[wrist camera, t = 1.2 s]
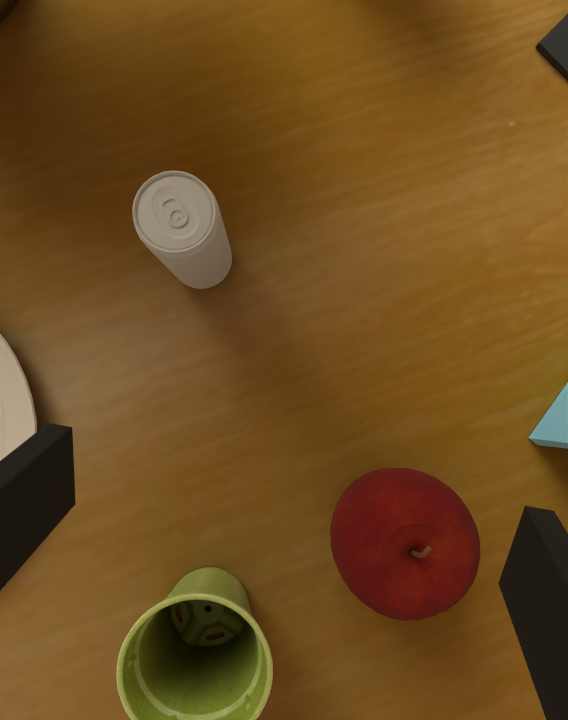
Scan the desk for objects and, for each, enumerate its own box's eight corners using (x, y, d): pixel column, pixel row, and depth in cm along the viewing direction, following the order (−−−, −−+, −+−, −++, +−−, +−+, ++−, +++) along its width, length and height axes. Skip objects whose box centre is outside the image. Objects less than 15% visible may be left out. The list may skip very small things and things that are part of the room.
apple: (421, 589, 39) (475, 664, 29) (305, 556, 39) (320, 620, 29) (454, 473, 40) (519, 508, 30) (340, 439, 39) (365, 463, 29)
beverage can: (191, 301, 39) (158, 272, 27) (159, 248, 39) (112, 196, 27) (244, 270, 39) (235, 227, 27) (212, 217, 39) (189, 151, 27)
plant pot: (253, 530, 39) (250, 576, 30) (284, 647, 39) (289, 726, 30) (136, 562, 39) (99, 618, 30) (166, 680, 39) (138, 771, 30)
